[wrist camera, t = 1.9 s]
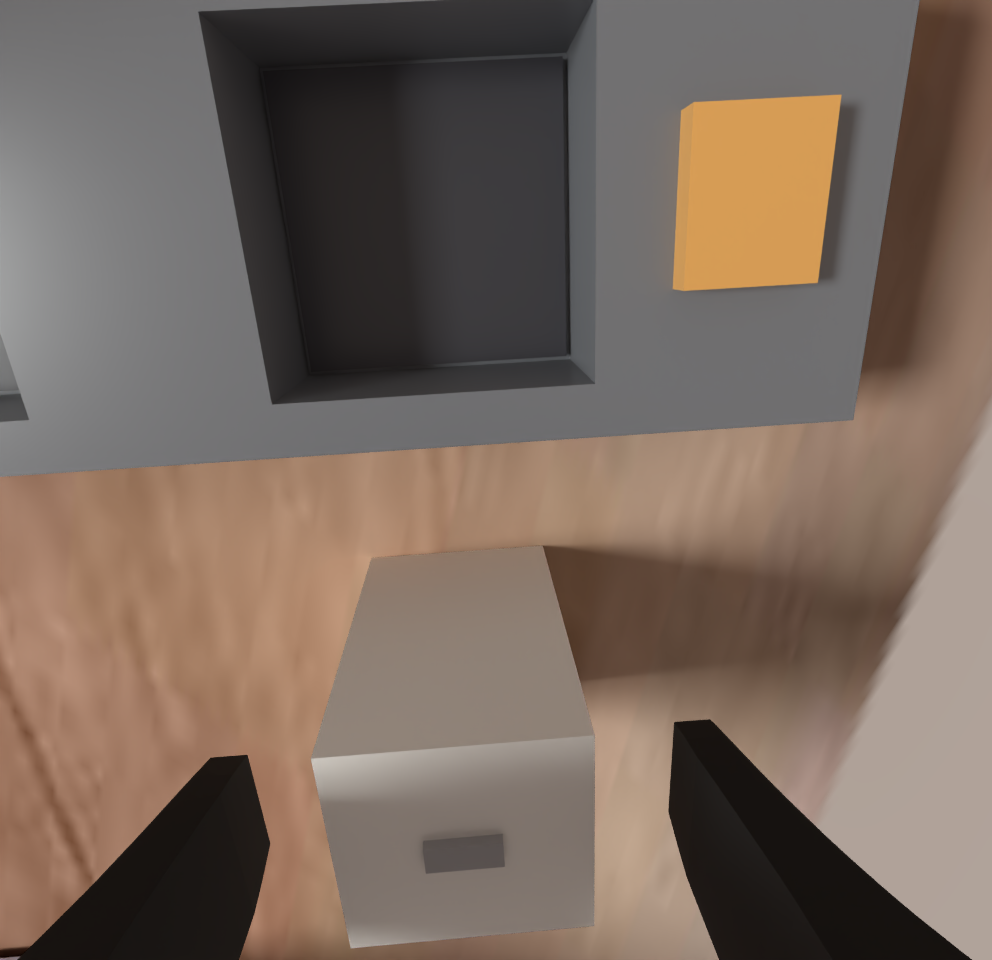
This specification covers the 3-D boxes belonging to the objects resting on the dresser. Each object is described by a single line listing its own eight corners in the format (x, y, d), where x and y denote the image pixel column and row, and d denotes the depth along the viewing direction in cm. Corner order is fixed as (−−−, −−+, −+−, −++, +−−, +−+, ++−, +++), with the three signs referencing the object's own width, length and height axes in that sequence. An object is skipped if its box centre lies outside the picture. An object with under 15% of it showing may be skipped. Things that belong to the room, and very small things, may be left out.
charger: (391, 696, 15) (349, 958, 10) (371, 557, 14) (308, 766, 8) (546, 684, 16) (596, 935, 10) (542, 545, 14) (596, 743, 8)
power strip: (-185, 446, 12) (-415, 513, 9) (-374, 43, 10) (-781, -60, 7) (769, 384, 13) (871, 427, 10) (810, -11, 11) (967, -131, 7)
